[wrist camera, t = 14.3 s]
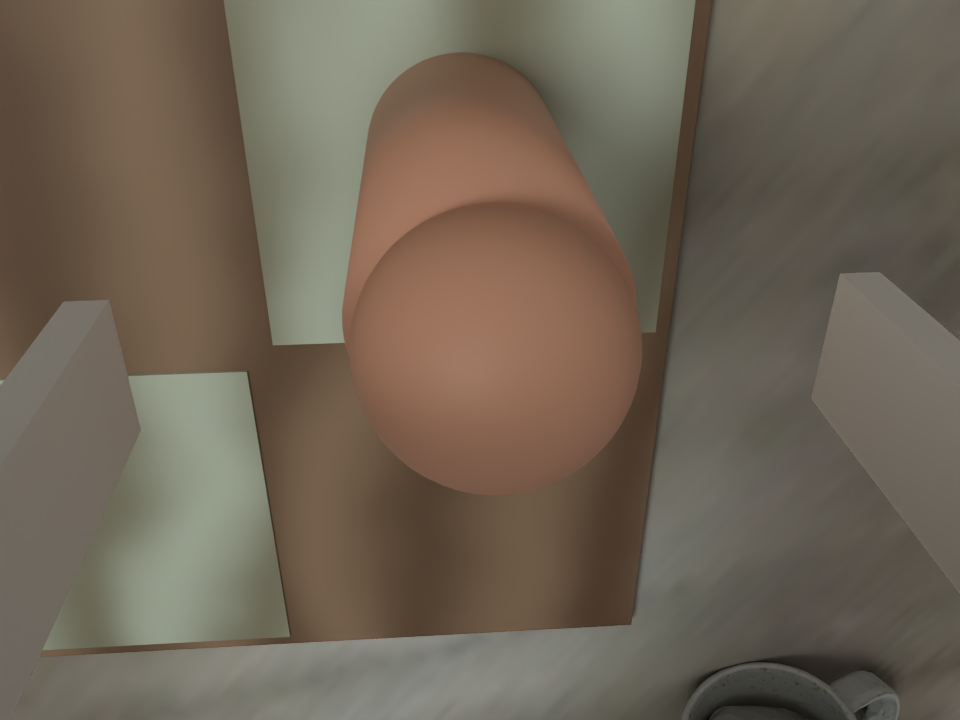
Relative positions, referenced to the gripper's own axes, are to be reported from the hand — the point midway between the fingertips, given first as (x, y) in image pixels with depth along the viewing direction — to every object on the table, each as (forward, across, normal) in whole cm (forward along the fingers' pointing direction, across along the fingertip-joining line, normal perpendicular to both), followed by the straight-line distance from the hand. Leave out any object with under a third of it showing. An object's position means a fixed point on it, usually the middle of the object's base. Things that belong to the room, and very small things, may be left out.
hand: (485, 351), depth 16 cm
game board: (+12, -7, -7) cm, 16 cm away
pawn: (+12, 0, 0) cm, 12 cm away
